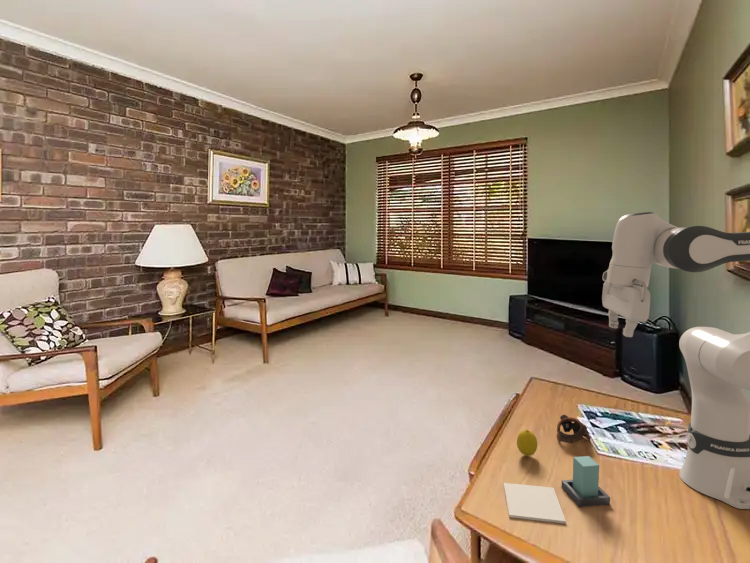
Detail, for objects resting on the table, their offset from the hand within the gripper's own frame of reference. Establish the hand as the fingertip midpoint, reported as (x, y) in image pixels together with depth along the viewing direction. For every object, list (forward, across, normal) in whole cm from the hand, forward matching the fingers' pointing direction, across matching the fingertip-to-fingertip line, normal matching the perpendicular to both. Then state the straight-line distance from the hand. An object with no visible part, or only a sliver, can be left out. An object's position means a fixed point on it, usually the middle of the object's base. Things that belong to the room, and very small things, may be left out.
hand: (619, 331), depth 101 cm
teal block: (+40, -10, +6) cm, 41 cm away
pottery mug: (+39, +18, +2) cm, 43 cm away
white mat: (+41, -15, +19) cm, 47 cm away
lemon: (+41, +6, +17) cm, 45 cm away
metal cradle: (+40, -10, +6) cm, 41 cm away
